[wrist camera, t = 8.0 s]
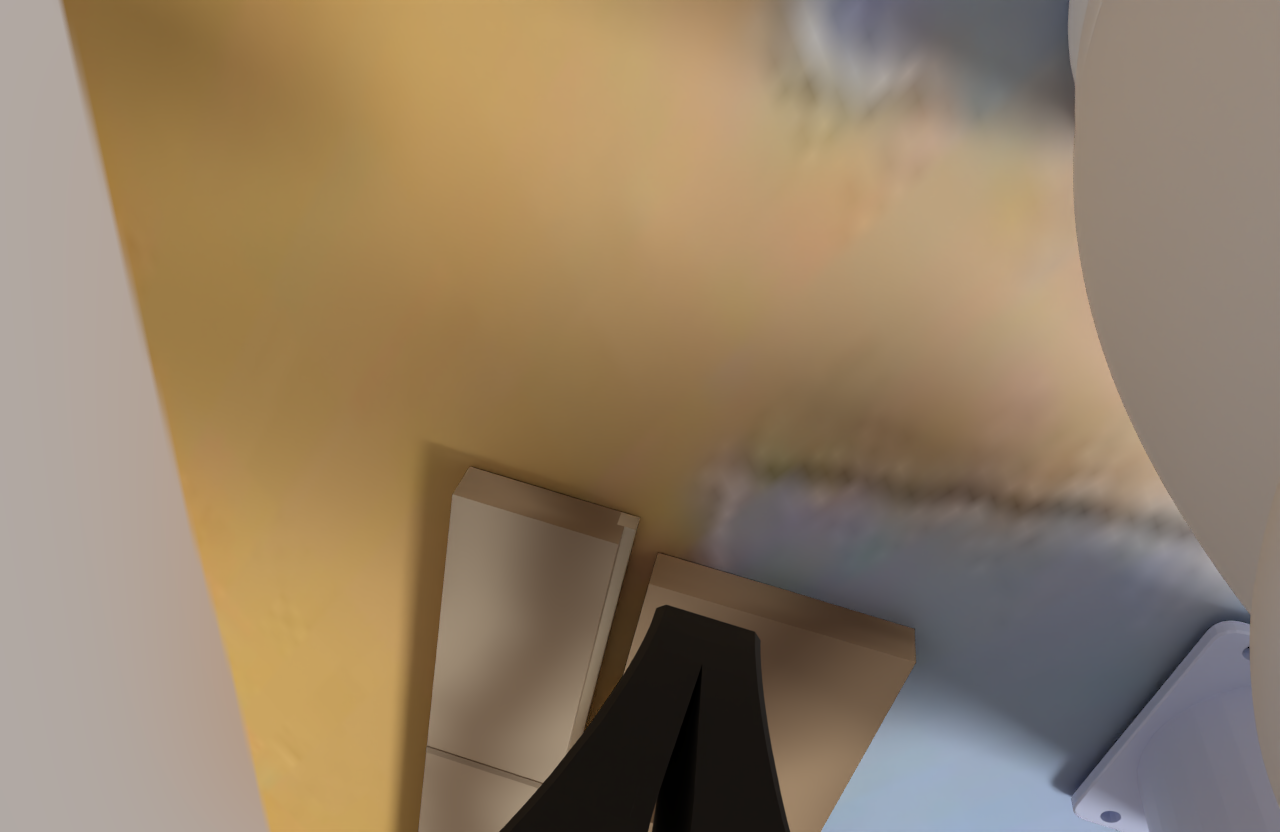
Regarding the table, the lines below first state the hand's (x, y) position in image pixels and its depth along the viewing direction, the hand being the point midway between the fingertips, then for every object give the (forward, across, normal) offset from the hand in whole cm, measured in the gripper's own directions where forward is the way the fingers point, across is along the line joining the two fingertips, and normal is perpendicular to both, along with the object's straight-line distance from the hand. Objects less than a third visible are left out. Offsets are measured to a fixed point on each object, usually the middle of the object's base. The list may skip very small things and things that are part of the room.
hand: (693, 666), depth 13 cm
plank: (+10, -3, +12) cm, 16 cm away
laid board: (+10, +4, +17) cm, 20 cm away
